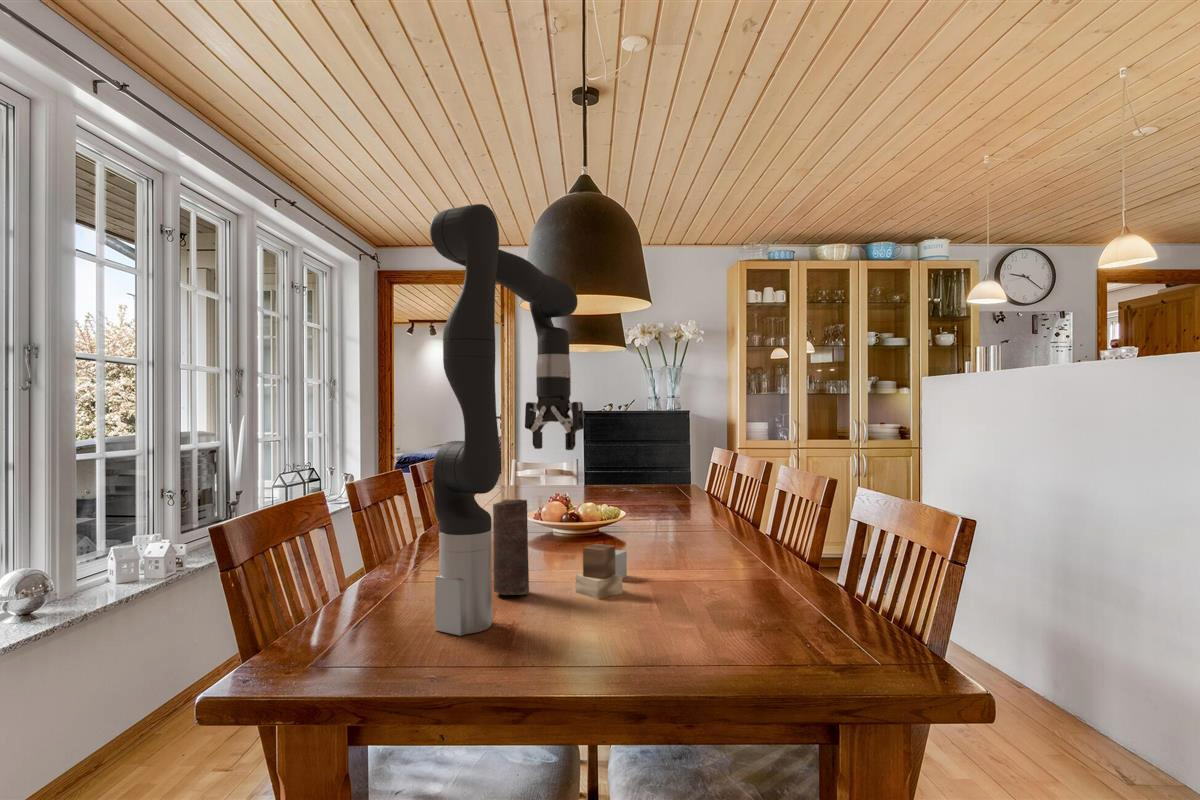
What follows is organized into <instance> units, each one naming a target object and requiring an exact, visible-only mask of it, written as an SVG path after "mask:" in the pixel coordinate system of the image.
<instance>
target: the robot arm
mask: <svg viewBox="0 0 1200 800" xmlns="http://www.w3.org/2000/svg"><path fill="white" fill-rule="evenodd" d="M497 220H498V219H497V217H496V215H495V213H494V212H493V210H492V209H491V207H489V206H488V205H486V204H482V203H477V204H475V203H474V204H470V205H465V206H464V205H463V206H459V207H455V208H454V207H453V208H452V207H451V208H448V209H445V210H442V211H439V212H438V213H437V214H435V215H434V216H433V217H432V219H431V222H430V227H429V235H430V240H431V243H432V245H433V247H434V249H435V250H436V252H437V253H438V254H439V255H441V256H442V257H443V258H445V259H447V260H449V261H451V262H453V263H455V264H458V265H461V266H463V267H465V274H464V281H463V284H462V287H461V291H460V292H459V296H458V297H457V299H456V301H455V304H454V305H453V307H452V309H451V312H450V313H449V316H448V317H447V319H446V322H445V325H444V328H443V334H442V350H443V351H442V359H443V363H442V364H443V370H444V374H445V375H446V376H445V377H446V378H447V381H448V383H449V385H450V388H451V390H452V392H453V393H454V395H455V397H456V399H457V401H458V404H459V405H460V406H459V407H460V408H461V413H462V417H463V424H464V425H463V426H464V427H463V428H464V429H463V430H464V440H451V441H446V442H445V443H443V444H442V445H441V446H440V447H439V448H438V449H437V451H436V454H435V456H434V460H433V466H432V487H433V503H434V504H433V505H434V514H435V517H436V519H437V522H438V527H439V529H438V530H439V532H438V533H439V534H438V535H439V537H438V541H439V544H438V545H439V546H438V547H439V550H438V555H439V557H438V559H439V561H438V563H439V565H438V567H439V568H438V569H439V571H438V572H439V574H437V575H436V576H435V578H434V580H435V582H434V598H435V599H434V601H435V603H434V605H435V606H434V608H435V609H434V616H435V617H434V620H435V622H434V630H435V631H437V632H442V633H446V634H451V635H453V636H454V635H456V636H459V637H461V636H465V635H469V634H475V633H479V632H483V631H486V630H488V629H489V628H491V626H492V624H493V622H492V621H493V617H492V615H493V614H492V613H493V609H492V607H493V605H492V603H493V602H492V601H493V600H492V599H493V597H492V594H493V593H492V592H493V591H492V590H493V588H492V587H493V585H492V582H493V581H492V578H493V577H492V516H491V514H490V513H489V512H488V510H485V509H484V508H483V507H482V506H481V505H479V503H478V502H477V500H476V499H475V495H474V494H478V495H483V494H487V493H490V492H492V490H493V489H494V488H495V487H496V486H497V483H498V481H499V479H500V475H501V469H502V468H501V467H502V466H501V465H502V461H501V460H502V459H501V447H500V437H499V427H498V418H497V403H496V401H497V400H496V328H495V327H496V325H495V321H496V320H495V318H496V316H495V313H496V312H495V311H496V309H495V307H496V283H498V284H499V285H502V286H503V287H505V288H506V289H507V290H509V291H510V292H512V293H513V294H515V295H516V296H517V297H519V298H521V299H522V301H525V302H527V303H529V309H530V313H531V317H532V320H533V324H534V325H533V326H534V328H535V329H534V330H535V333H536V337H537V359H536V371H535V372H536V374H535V375H536V397H537V402H535V401H534V402H531V401H529V402H526V403H525V413H524V414H525V415H524V428H525V429H526V430H530V431H531V432H532V447H533V448H534V449H535V450H541V449H542V448H543V431H542V430H543V429H544V427H545V425H547V424H548V423H549V422H551V423H552V422H553V423H554V422H555V423H558V422H559V424H560V425H561V426H563V428H564V430H565V434H564V435H565V450H566V451H574V449H575V448H576V433H577V431H581V430H584V427H585V425H584V422H585V421H584V405H583V402H581V401H573V402H571V401H570V398H571V395H572V394H571V393H572V392H571V386H572V385H571V383H572V382H571V380H572V379H571V370H572V369H571V361H570V333H569V331H568V330H567V329H565V328H562V327H558V326H557V327H556V326H555V325H554V323H553V321H552V318H564V317H568V316H570V315H572V314H573V313H574V312H575V311H576V310H577V307H578V295H577V293H576V291H575V290H574V288H573V287H572V286H571V285H570V284H569V283H567V282H565V281H564V280H561V279H559V278H557V277H554V276H551V275H549V274H545V273H544V272H543V271H542V270H540V269H539V268H538V267H537V266H536V265H534V264H533V263H532V262H530V261H529V260H527V259H525V258H524V257H521V256H518V255H516V254H513V253H511V252H507V251H505V250H502V249H499V248H500V231H499V224H498V221H497ZM537 412H538V414H537ZM569 412H571V414H572V416H571V415H570V413H569Z"/></svg>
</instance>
